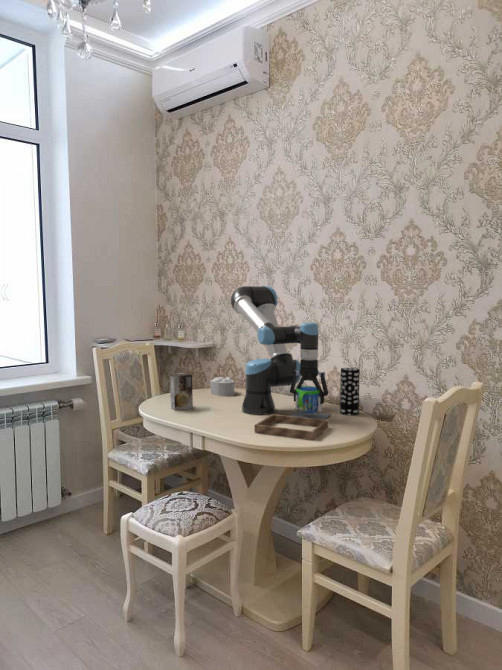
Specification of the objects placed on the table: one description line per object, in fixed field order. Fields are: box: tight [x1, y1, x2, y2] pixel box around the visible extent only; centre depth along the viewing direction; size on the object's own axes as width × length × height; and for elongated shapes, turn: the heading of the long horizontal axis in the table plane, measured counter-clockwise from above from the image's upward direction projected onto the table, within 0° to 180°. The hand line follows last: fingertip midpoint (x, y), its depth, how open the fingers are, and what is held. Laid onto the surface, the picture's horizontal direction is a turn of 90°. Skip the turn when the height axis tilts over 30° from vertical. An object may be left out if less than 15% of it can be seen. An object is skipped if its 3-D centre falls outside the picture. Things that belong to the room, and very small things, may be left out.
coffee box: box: [169, 372, 194, 411], centre depth 242 cm, size 9×6×16 cm
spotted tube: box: [339, 367, 361, 416], centre depth 232 cm, size 8×8×20 cm
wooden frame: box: [254, 413, 329, 441], centre depth 205 cm, size 24×19×3 cm
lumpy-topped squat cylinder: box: [210, 376, 235, 397], centre depth 274 cm, size 10×13×9 cm
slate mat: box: [290, 410, 331, 420], centre depth 224 cm, size 15×15×1 cm
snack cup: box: [295, 385, 320, 413], centre depth 223 cm, size 16×10×10 cm
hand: (308, 410), depth 224 cm, fingers closed on snack cup, 9 cm apart
